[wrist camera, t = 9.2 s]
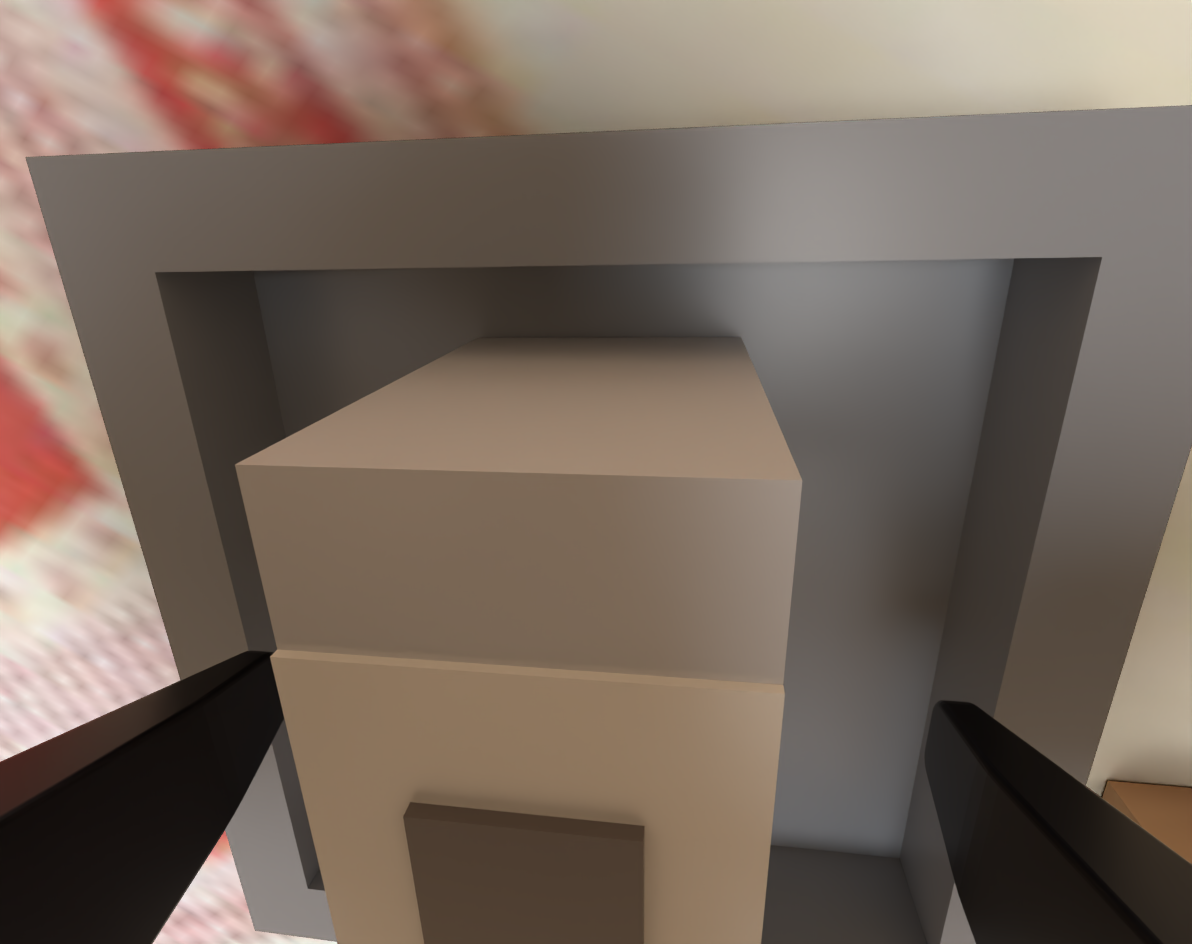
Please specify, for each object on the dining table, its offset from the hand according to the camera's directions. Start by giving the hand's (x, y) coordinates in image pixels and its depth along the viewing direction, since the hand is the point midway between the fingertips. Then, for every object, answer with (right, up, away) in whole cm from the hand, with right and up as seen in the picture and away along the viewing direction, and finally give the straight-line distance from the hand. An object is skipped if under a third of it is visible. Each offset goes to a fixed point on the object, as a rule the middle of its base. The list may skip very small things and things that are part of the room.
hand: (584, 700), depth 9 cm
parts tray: (+1, +1, +4) cm, 4 cm away
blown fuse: (0, +1, +3) cm, 3 cm away
